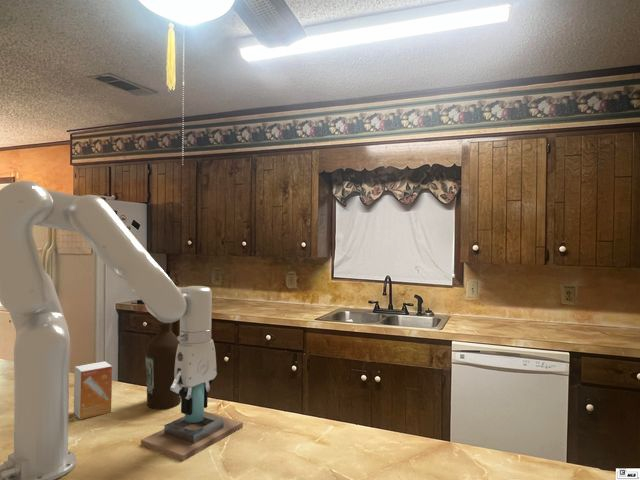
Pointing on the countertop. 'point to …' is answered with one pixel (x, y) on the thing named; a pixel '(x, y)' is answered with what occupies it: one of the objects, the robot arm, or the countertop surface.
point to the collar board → (191, 435)
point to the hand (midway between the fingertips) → (194, 409)
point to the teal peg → (196, 404)
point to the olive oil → (161, 368)
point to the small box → (92, 389)
